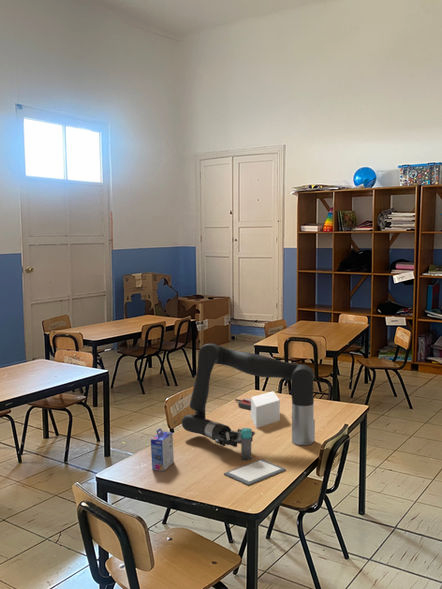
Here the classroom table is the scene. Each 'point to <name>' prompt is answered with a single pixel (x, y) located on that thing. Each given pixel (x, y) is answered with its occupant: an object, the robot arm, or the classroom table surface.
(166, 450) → the ink cartridge box
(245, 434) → the marker
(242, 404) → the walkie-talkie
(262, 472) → the mat
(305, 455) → the classroom table surface
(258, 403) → the white box
